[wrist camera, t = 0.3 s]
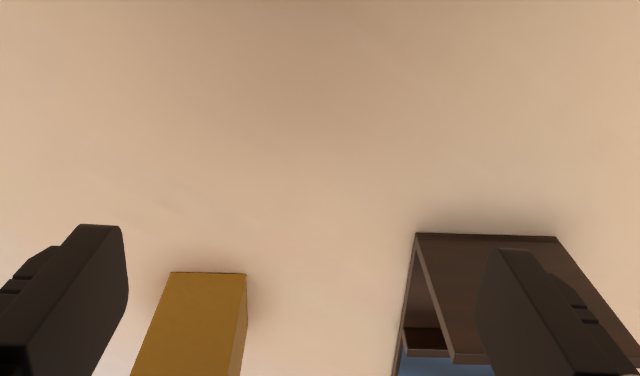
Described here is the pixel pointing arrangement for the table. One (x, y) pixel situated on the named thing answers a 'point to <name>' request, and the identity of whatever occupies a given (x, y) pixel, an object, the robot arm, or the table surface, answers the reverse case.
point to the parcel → (196, 327)
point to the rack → (459, 300)
